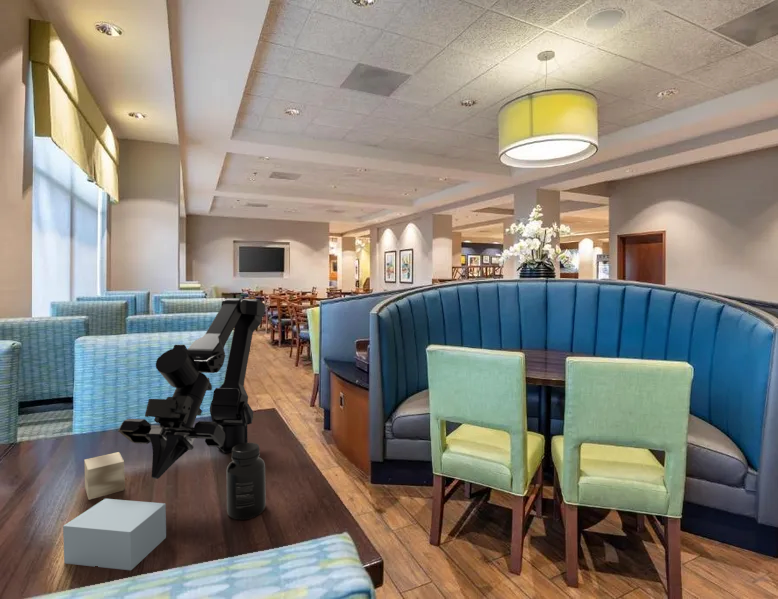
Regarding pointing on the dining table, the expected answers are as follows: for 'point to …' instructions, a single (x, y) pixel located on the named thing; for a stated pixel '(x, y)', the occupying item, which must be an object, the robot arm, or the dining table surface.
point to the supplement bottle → (245, 482)
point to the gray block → (114, 534)
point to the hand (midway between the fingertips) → (154, 478)
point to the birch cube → (104, 475)
